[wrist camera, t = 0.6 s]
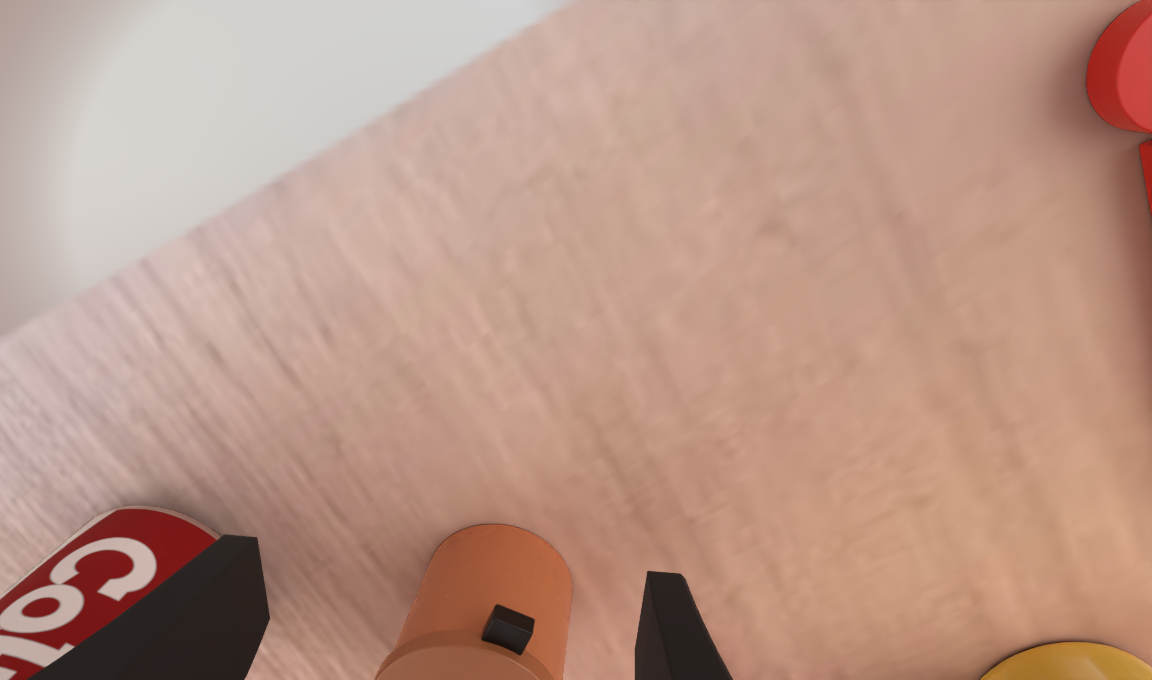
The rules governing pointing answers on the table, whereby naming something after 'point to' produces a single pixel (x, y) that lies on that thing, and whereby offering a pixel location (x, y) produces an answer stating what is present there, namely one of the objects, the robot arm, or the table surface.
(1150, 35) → the red spoon
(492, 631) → the copper pot
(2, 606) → the soda can
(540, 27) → the table surface
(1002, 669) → the flower pot
